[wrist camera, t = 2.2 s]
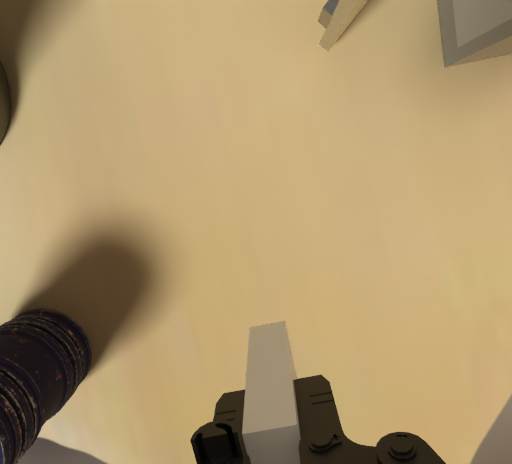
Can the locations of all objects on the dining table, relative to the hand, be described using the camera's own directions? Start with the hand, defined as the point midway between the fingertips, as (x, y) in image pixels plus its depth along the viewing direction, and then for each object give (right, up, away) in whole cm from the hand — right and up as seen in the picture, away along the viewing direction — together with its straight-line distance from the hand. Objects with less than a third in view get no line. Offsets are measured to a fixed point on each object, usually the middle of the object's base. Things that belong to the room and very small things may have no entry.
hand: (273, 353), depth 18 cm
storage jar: (-23, -7, +27) cm, 36 cm away
